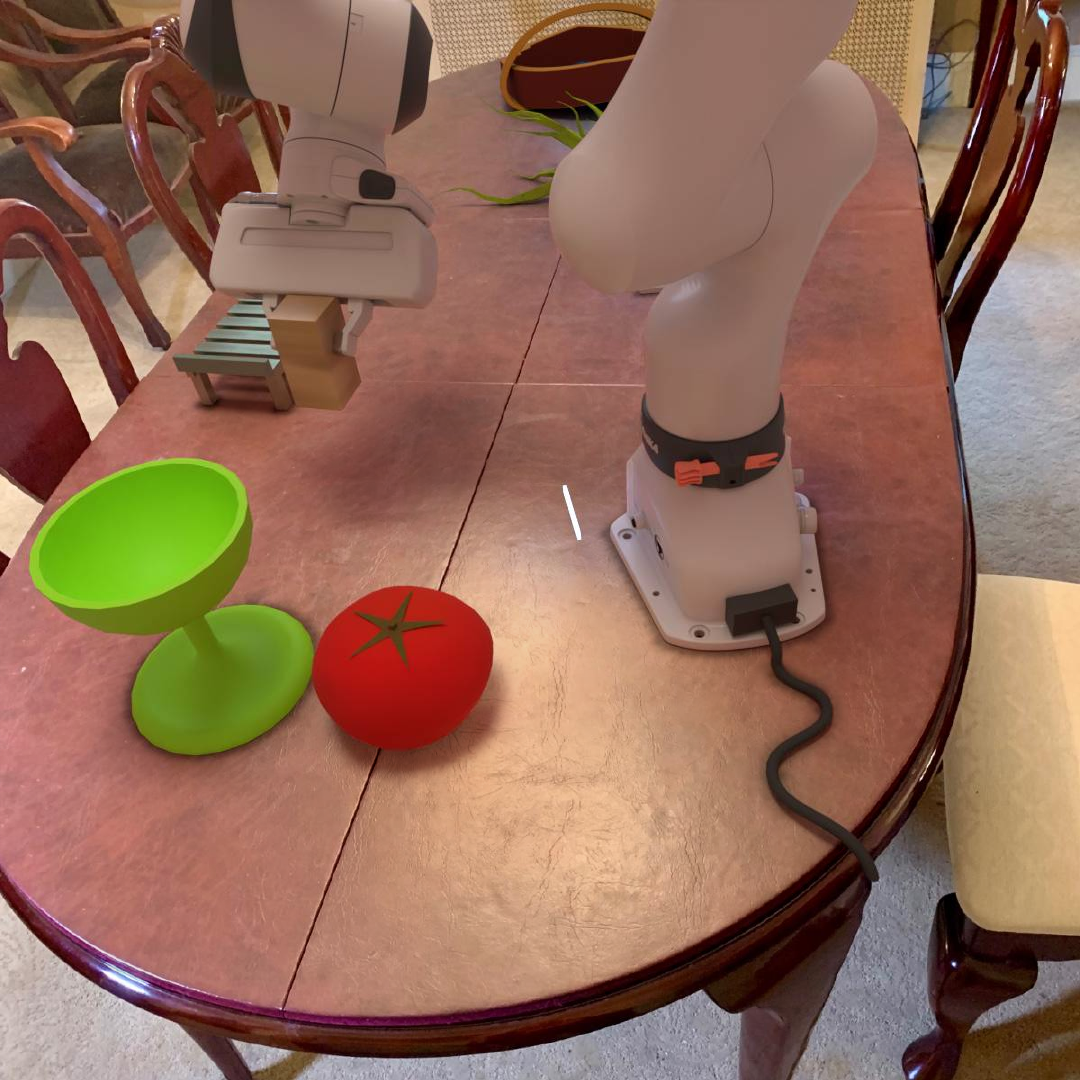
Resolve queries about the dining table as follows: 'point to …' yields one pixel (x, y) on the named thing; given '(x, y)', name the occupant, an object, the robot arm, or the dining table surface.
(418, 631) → the tomato
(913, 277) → the dining table surface
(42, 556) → the wineglass
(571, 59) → the decorative basket
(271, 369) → the rack
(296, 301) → the block
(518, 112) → the decorative plant
